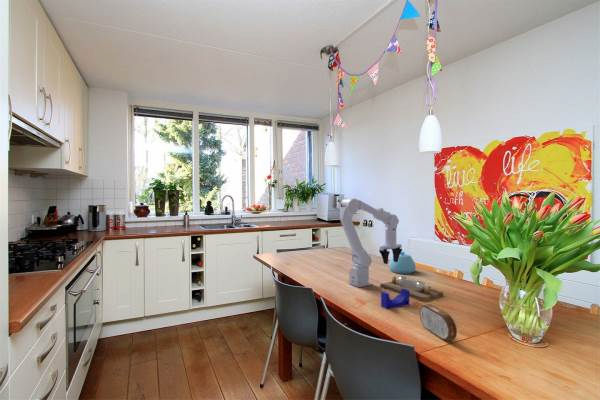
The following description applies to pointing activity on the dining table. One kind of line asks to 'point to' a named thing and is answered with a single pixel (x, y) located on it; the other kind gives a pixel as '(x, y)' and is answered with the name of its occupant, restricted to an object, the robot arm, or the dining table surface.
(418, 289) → the silver cylinder
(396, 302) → the cable clip
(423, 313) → the speaker
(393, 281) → the peg rack
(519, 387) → the dining table surface
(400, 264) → the sugar bowl
